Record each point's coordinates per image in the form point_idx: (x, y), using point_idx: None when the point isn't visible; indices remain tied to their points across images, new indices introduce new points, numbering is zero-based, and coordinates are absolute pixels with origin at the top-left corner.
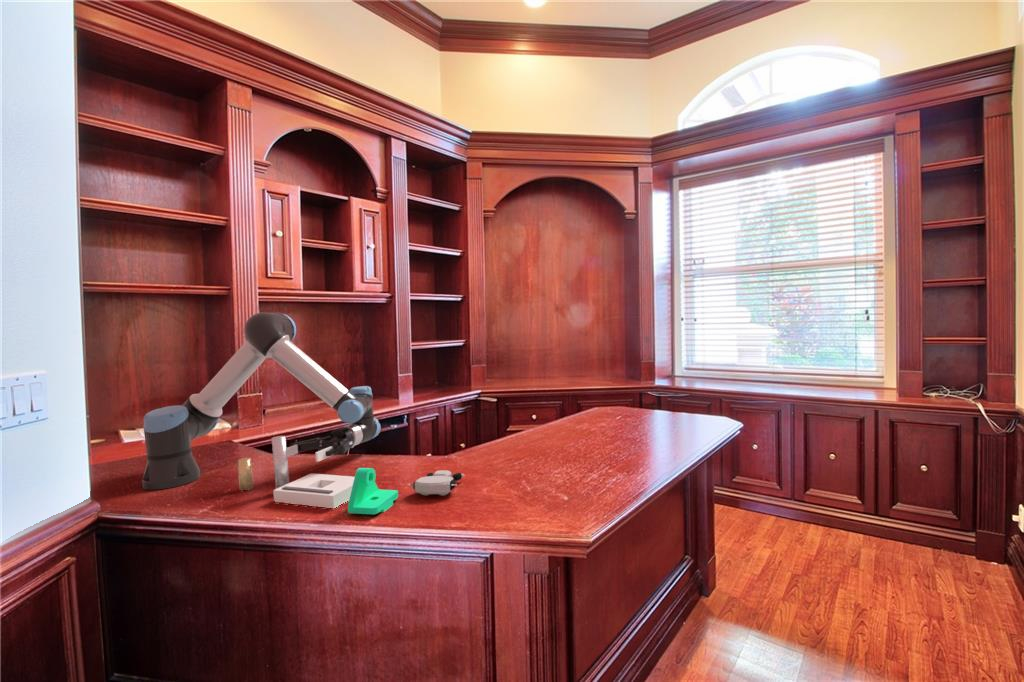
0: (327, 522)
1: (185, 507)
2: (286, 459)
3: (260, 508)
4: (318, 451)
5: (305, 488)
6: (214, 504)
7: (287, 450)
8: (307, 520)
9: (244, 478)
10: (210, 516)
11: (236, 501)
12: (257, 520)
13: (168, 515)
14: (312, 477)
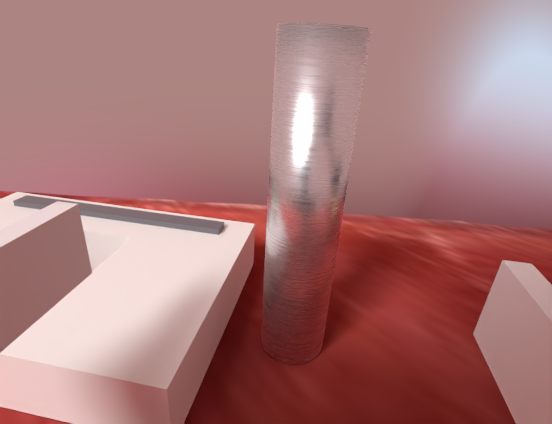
0: (49, 195)
1: (523, 253)
2: (269, 184)
3: None
4: (45, 215)
5: (124, 215)
6: (459, 264)
7: (540, 345)
8: (101, 201)
9: None
10: (370, 220)
11: (411, 277)
12: (228, 205)
13: (490, 226)
14: (131, 317)
